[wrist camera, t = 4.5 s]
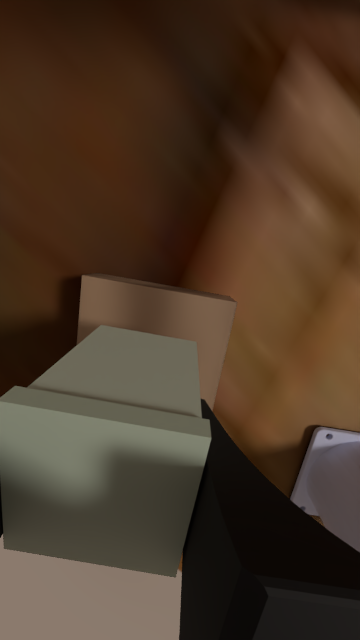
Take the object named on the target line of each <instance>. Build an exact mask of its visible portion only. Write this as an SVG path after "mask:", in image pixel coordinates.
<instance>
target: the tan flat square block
mask: <svg viewBox="0 0 360 640" xmlns="http://www.w3.org/2000/svg"><path fill="white" fill-rule="evenodd" d="M236 306H237V302H236V301H235V300H234V299H232V298H231V297H230V296H225V295H219V294H214V293H208V292H202V291H196V290H191V289H185V288H179V287H174V286H168V285H162V284H157V283H151V282H145V281H140V280H134V279H128V278H123V277H117V276H111V275H106V274H100V273H95V274H87V275H82V283H81V296H80V309H79V322H78V335H77V345H78V344H79V343H80V342H81V341H83V340H84V339H85V338H86V337H87V336H89V335H90V334H91V333H92V332H93V331H94V330H96V329H97V328H98V327H99V326H100V325H105V326H110V327H116V328H122V329H127V330H133V331H138V332H144V333H150V334H155V335H161V336H167V337H172V338H178V339H184V340H189V341H195V342H197V355H198V369H199V384H200V399H205V401H206V402H207V404H208V406H209V407H210V409H211V410H213V405H214V401H215V397H216V392H217V388H218V384H219V380H220V375H221V371H222V367H223V362H224V358H225V354H226V349H227V345H228V341H229V336H230V332H231V328H232V324H233V319H234V315H235V311H236Z"/></svg>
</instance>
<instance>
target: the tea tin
mask: <svg viewBox="0 0 360 640" xmlns="http://www.w3.org/2000/svg"><path fill="white" fill-rule="evenodd" d="M210 442H211V429H210V420H208V419H203V418H202V413H201V399H200V384H199V369H198V355H197V342H195V341H189V340H184V339H178V338H172V337H167V336H161V335H155V334H150V333H144V332H138V331H133V330H127V329H122V328H116V327H110V326H105V325H100V326H99V327H98V328H97V329H96V330H94V331H93V332H92V333H91V334H90V335H89V336H87V337H86V338H85V339H84V340H83V341H81V342H80V343H79V344H78V345H77V346H75V347H74V348H73V349H72V350H71V351H70V352H68V353H67V354H66V355H65V356H64V357H62V358H61V359H60V360H59V361H58V362H57V363H55V364H54V365H53V366H52V367H51V368H49V369H48V370H47V371H46V372H45V373H44V374H42V375H41V376H40V377H39V378H38V379H36V380H35V381H34V382H33V383H32V384H31V385H29V386H28V387H27V388H25V387H19V386H14V387H13V388H12V389H10V390H9V391H8V392H7V393H5V394H4V395H3V396H1V397H0V482H1V501H2V520H3V537H4V538H3V539H4V549H10V550H16V551H22V552H27V553H33V554H39V555H45V556H51V557H57V558H63V559H69V560H75V561H81V562H87V563H93V564H99V565H105V566H111V567H117V568H122V569H129V570H135V571H141V572H146V573H152V574H158V575H164V576H170V577H176V574H177V570H178V566H179V562H180V558H181V554H182V550H183V547H184V543H185V539H186V535H187V531H188V527H189V523H190V519H191V516H192V512H193V508H194V504H195V500H196V496H197V492H198V488H199V485H200V481H201V477H202V473H203V469H204V465H205V461H206V457H207V453H208V450H209V446H210Z"/></svg>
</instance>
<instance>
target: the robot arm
mask: <svg viewBox="0 0 360 640" xmlns="http://www.w3.org/2000/svg"><path fill="white" fill-rule="evenodd" d="M201 413H202V418H203V419H208V420H210V429H211V442H210V446H209V450H208V453H207V457H206V461H205V465H204V469H203V473H202V477H201V481H200V485H199V488H198V492H197V496H196V500H195V504H194V508H193V512H192V516H191V519H190V523H189V527H188V531H187V535H186V539H185V543H184V547H183V560H182V587H181V589H182V590H181V612H180V635H179V640H360V433H357V432H351V431H345V430H339V429H333V428H326V427H318V428H316V429H315V430H314V433H313V435H312V438H311V441H310V444H309V447H308V450H307V452H306V455H305V458H304V461H303V464H302V467H301V470H300V472H299V475H298V478H297V481H296V484H295V487H294V489H293V492H292V495H291V498H290V499H289V498H288V497H286V496H285V495H284V494H283V493H282V492H281V491H280V490H279V489H278V488H277V487H275V486H274V485H273V484H272V483H271V482H270V481H269V480H268V479H267V478H266V477H265V476H264V475H263V474H262V473H261V472H260V471H259V470H258V469H257V468H256V467H255V466H254V465H253V464H252V463H251V462H250V461H249V460H248V458H247V457H246V456H245V455H244V454H243V453H242V452H241V450H240V449H239V448H238V447H237V445H236V444H235V443H234V442H233V441H232V439H231V438H230V437H229V435H228V434H227V433H226V431H225V430H224V428H223V427H222V426H221V424H220V423H219V421H218V420H217V418H216V417H215V415H214V413H213V412H212V410H211V409H210V407H209V406H208V404H207V402H206V401H205V399H201ZM327 434H329V435H328V436H326V435H327ZM308 514H309V515H316V516H320V518H321V520H322V522H323V524H324V526H325V527H323V526H322V525H321V524H320V523H318V522H317V521H316V520H315V519H313V518H312V517H311V516H309V515H308ZM2 534H3V520H2V501H1V482H0V538H1V535H2Z"/></svg>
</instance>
